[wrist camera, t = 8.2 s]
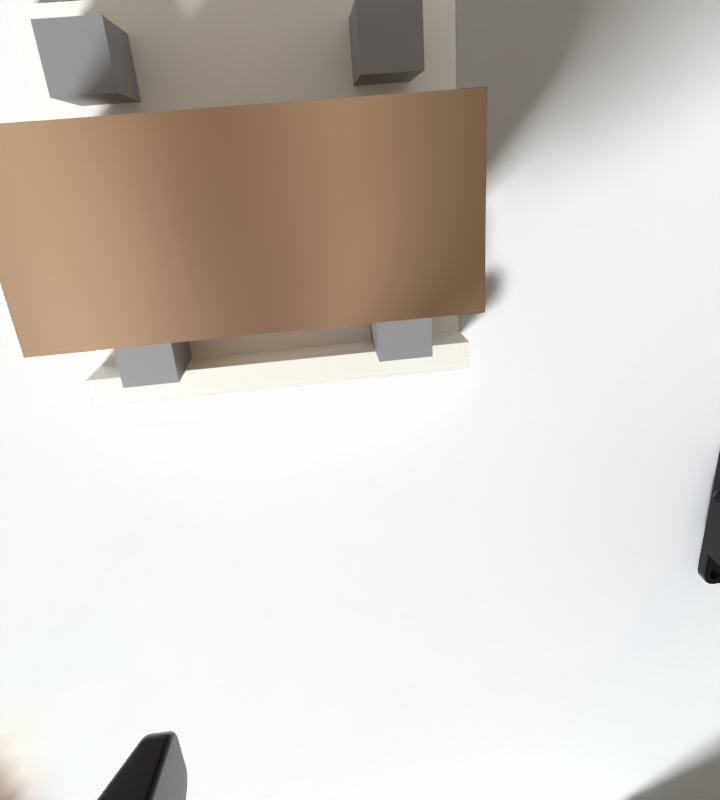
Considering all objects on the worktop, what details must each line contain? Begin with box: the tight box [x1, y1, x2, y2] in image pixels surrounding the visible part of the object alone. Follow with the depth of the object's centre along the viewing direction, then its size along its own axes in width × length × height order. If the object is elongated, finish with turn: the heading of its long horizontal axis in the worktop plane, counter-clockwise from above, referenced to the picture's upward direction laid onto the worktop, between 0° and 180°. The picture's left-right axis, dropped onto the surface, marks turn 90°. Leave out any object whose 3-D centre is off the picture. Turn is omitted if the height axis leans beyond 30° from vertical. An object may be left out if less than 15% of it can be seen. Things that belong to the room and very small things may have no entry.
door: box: [0, 87, 487, 357], centre depth 13 cm, size 10×4×6 cm, turn 94°
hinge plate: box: [4, 0, 469, 407], centre depth 16 cm, size 11×10×3 cm
